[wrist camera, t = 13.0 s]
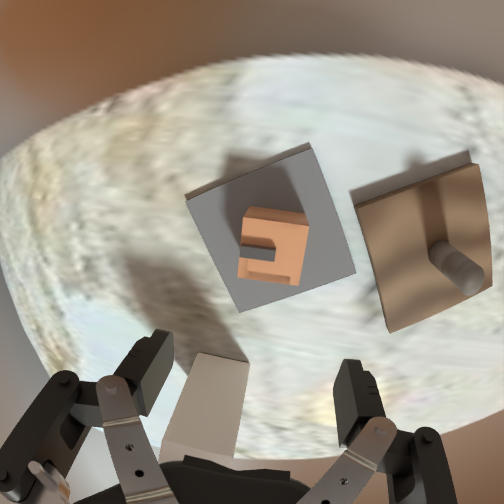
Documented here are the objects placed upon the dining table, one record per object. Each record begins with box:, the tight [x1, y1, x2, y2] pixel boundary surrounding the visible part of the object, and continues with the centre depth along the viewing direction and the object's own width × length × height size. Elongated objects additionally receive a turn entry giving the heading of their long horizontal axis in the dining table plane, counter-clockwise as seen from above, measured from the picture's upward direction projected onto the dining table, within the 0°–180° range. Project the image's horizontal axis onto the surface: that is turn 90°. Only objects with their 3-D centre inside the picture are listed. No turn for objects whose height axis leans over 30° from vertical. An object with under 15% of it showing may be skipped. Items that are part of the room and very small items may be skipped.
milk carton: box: [158, 353, 250, 469], centre depth 30 cm, size 7×7×19 cm
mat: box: [185, 148, 356, 313], centre depth 31 cm, size 14×14×1 cm
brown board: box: [354, 163, 492, 333], centre depth 25 cm, size 16×16×9 cm
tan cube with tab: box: [237, 206, 309, 286], centre depth 28 cm, size 6×6×6 cm
